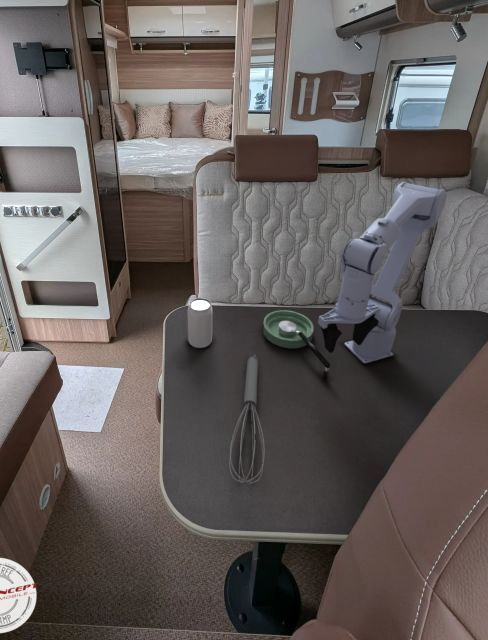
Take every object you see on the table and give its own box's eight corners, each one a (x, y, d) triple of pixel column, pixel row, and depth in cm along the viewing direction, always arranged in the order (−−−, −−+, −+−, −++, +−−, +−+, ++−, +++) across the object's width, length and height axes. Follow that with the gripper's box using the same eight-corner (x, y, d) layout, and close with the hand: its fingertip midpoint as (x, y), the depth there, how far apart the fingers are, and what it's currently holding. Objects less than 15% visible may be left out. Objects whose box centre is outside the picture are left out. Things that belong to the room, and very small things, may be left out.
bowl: (295, 315, 109) (296, 306, 108) (322, 343, 98) (323, 334, 96) (254, 324, 105) (255, 315, 104) (277, 355, 94) (278, 345, 92)
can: (187, 333, 101) (187, 297, 95) (211, 332, 101) (211, 296, 96) (188, 349, 95) (187, 311, 90) (213, 348, 96) (213, 310, 90)
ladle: (275, 328, 102) (276, 315, 100) (289, 324, 104) (291, 311, 102) (317, 381, 86) (320, 367, 83) (334, 376, 87) (338, 362, 85)
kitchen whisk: (264, 359, 92) (266, 340, 89) (262, 497, 62) (264, 474, 59) (240, 357, 93) (241, 337, 90) (226, 492, 63) (227, 469, 60)
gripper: (368, 280, 81) (357, 329, 87) (313, 290, 76) (305, 341, 82) (392, 296, 75) (378, 347, 81) (334, 309, 71) (323, 362, 77)
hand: (342, 346), depth 81 cm, fingers open, 7 cm apart
